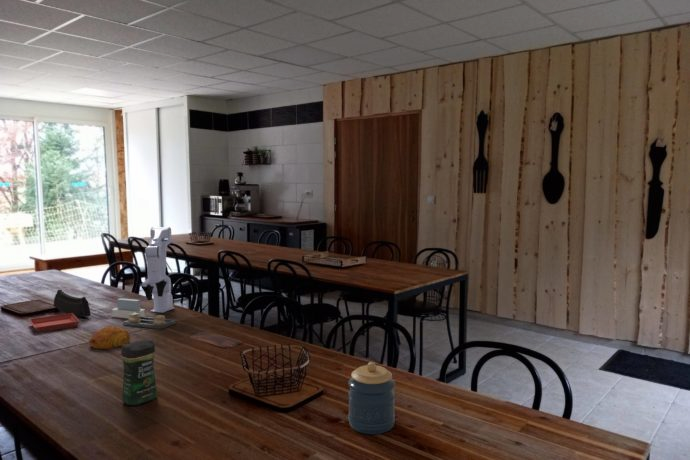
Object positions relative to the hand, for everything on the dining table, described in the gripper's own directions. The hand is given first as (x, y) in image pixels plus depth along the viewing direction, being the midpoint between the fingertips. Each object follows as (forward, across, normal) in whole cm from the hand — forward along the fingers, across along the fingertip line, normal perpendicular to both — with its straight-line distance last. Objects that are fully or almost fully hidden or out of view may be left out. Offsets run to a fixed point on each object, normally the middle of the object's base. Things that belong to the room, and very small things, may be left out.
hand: (154, 298), depth 240 cm
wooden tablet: (+11, +18, +45) cm, 50 cm away
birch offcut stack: (+10, +10, -4) cm, 15 cm away
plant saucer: (+11, +24, -38) cm, 46 cm away
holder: (+10, 0, -16) cm, 19 cm away
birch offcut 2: (+11, +10, +10) cm, 18 cm away
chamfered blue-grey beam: (+10, 0, -16) cm, 18 cm away
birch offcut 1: (+8, +10, +10) cm, 16 cm away
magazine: (+11, +6, -47) cm, 49 cm away
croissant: (+11, +36, +6) cm, 38 cm away
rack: (+10, +8, +3) cm, 13 cm away
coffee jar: (+11, +75, +56) cm, 94 cm away
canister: (+11, +67, +128) cm, 145 cm away
